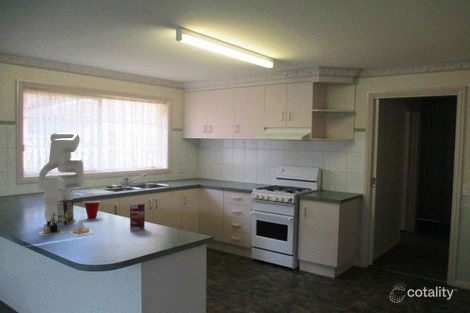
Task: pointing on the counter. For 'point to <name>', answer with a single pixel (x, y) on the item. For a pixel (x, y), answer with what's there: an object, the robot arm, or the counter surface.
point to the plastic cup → (91, 208)
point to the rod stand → (51, 234)
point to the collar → (48, 228)
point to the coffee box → (65, 212)
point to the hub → (81, 230)
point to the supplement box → (137, 216)
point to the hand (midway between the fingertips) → (52, 230)
